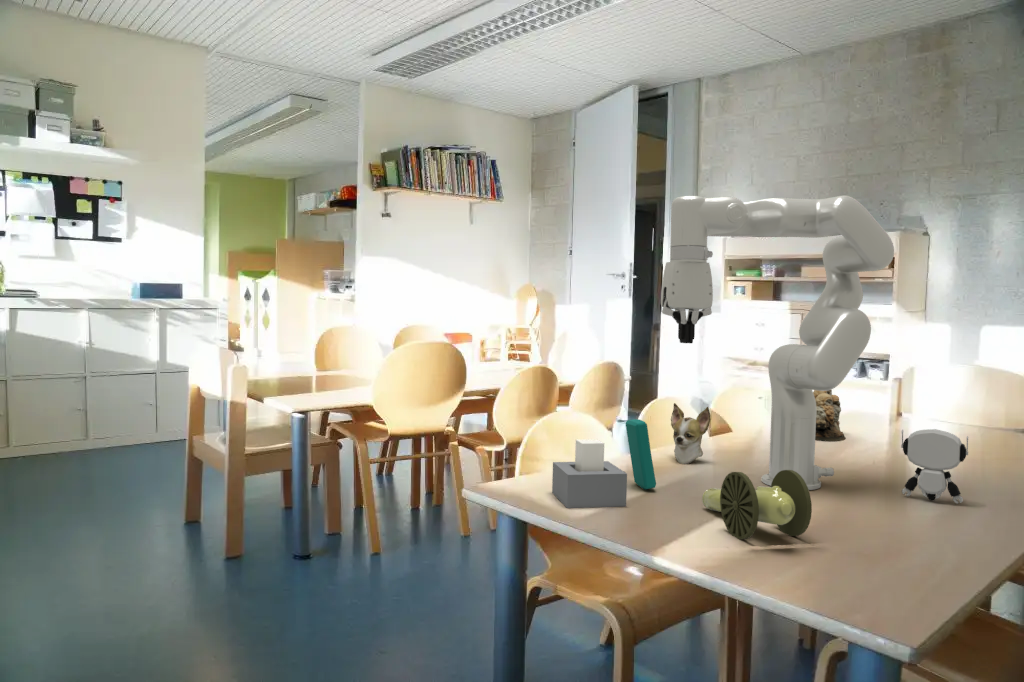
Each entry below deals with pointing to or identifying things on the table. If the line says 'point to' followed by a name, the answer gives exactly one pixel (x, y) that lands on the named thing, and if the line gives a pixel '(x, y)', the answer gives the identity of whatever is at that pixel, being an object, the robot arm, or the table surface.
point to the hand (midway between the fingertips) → (686, 342)
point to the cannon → (762, 503)
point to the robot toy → (934, 462)
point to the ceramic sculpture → (688, 434)
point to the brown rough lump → (827, 417)
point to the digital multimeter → (640, 453)
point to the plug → (589, 455)
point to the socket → (589, 486)
